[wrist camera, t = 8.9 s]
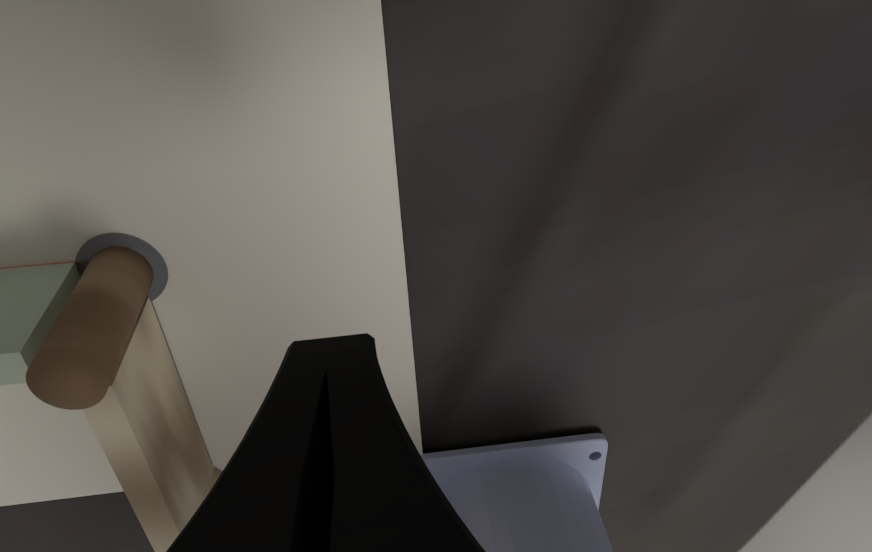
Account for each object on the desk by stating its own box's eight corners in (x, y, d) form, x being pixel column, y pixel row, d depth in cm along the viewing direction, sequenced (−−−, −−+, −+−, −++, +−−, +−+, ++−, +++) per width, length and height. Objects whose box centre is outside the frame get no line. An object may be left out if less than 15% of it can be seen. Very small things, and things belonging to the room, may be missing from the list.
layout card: (422, 448, 26) (422, 456, 26) (-44, 505, 25) (-50, 514, 25) (367, -139, 15) (367, -138, 15) (-489, -83, 14) (-510, -81, 14)
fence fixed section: (235, 486, 27) (214, 614, 22) (189, 492, 26) (159, 621, 22) (146, 236, 20) (92, 350, 16) (84, 242, 20) (13, 359, 15)
